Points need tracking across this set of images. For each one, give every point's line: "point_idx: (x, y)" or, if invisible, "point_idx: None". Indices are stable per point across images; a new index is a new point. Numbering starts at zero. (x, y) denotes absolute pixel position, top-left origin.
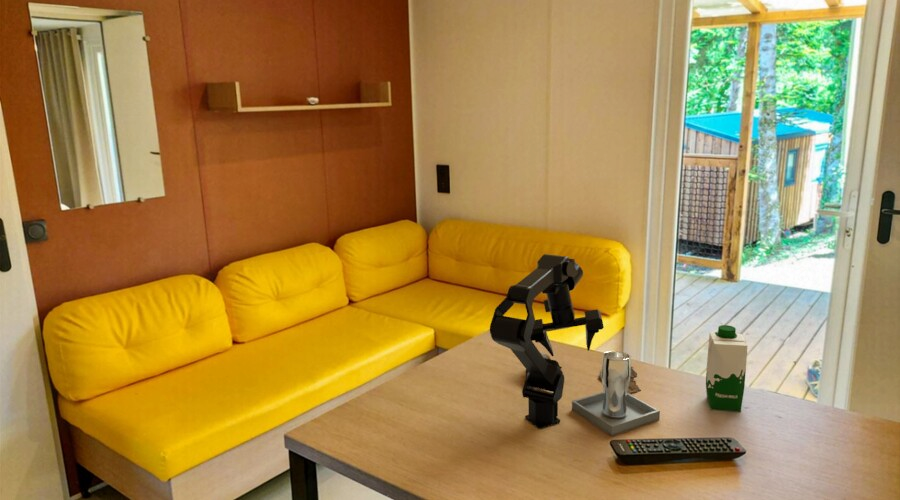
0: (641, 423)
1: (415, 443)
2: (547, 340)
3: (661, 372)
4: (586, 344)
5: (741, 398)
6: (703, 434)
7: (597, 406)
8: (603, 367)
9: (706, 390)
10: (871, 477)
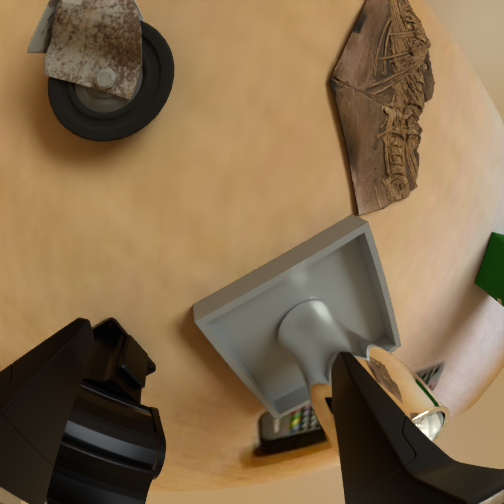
0: None
1: None
2: (38, 477)
3: (473, 96)
4: (345, 381)
5: None
6: (420, 364)
7: (274, 295)
8: (333, 445)
9: (501, 248)
10: (478, 393)
